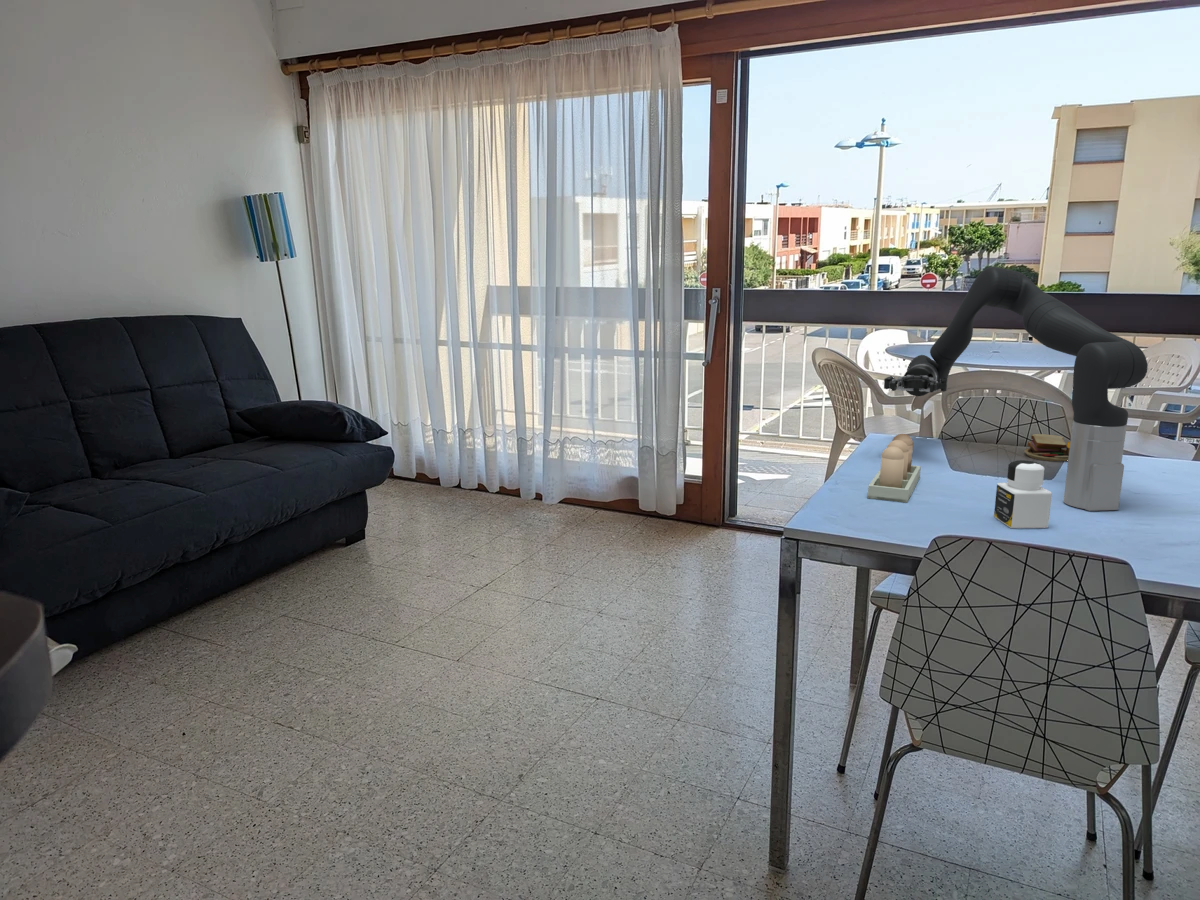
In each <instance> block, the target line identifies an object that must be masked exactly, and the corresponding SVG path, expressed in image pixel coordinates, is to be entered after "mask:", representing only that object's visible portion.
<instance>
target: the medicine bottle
mask: <svg viewBox="0 0 1200 900" xmlns="http://www.w3.org/2000/svg"><path fill="white" fill-rule="evenodd" d="M1044 475H1045V466H1044V465H1043V464H1042V463H1040V462H1037V461H1034V460H1033V461H1032V460H1025V459H1023V460H1022V459H1020V460H1019V459H1018V460H1014V461H1010V462H1009V463H1008V469H1007V475H1006V482H997V484H996V491H995V501H994V511H993V517H994V518H995V519H996V520H997V521H999V522H1000V523H1002V524H1003V525H1005V526H1007V527H1008V528H1010V529H1048V528H1049V523H1050V516H1051V507H1052V497H1053V493H1052V491H1050V490H1048V489H1046V488H1044V487H1042V486H1043V484H1044V477H1045V476H1044Z"/></svg>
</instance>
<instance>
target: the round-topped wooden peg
mask: <svg viewBox="0 0 1200 900" xmlns="http://www.w3.org/2000/svg"><path fill="white" fill-rule="evenodd" d="M894 440H901V441H903V442H905V443H906V444H907V446H908V449H909V453H908V466H907V473H911V465H912V463H913V450H914V441H913V439H912V436H910V435H909V434H906V433H899V434H896V435H895V436H894V437H893V438H892V440H891V442H892V441H894Z"/></svg>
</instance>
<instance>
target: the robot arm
mask: <svg viewBox="0 0 1200 900" xmlns="http://www.w3.org/2000/svg"><path fill="white" fill-rule="evenodd" d="M985 306H987V307H992V308H998V309H1003V310H1007V311H1011V312H1013V313H1015V314H1018V315H1019V316H1020V317H1022V325H1023V328H1024V330H1025V331H1026V332H1027V334H1029V336H1030V337H1032V338H1034V339H1035V340H1036V341H1037V342H1039V343H1040V344H1042V345H1043V346H1045V347H1047V348H1048V349H1050V350H1051V349H1052V350H1054V351H1058V352H1060V353H1064V354H1066V355H1070V356H1073V357H1075V360H1074V365H1073V377H1072V393H1071V394H1072V395H1071V406H1072V411H1073V416H1072V417H1073V418H1072V425H1071V426H1072V428H1071V435H1070V441H1069V442H1070V449H1069V457H1068V462H1067V466H1066V467H1067V468H1066V474H1065V481H1064V482H1065V483H1064V492H1063V503H1065V504H1066V505H1068V506H1071V507H1073V508H1077V509H1083V510H1085V511H1088V512H1089V511H1095V512H1096V511H1098V512H1099V511H1119V505H1120V500H1121V491H1122V484H1123V477H1124V470H1125V465H1124V463H1122V461H1123V454H1124V450H1125V449H1124V447H1125V442H1126V434H1127V425H1128V420H1129V419H1128V418H1129V413H1128V410H1127V409H1126V408H1123V407H1121V406H1118V405H1115V404H1113V403H1112V402H1111V401H1109V397H1108V396H1109V395H1108V393H1109V390H1113V389H1114V390H1115V389H1117V390H1118V389H1125V388H1131V387H1134V386H1136V385H1138V384H1139V383H1142V381H1143V380H1144V379H1145V377H1146V375H1147V373H1148V367H1149V365H1148V364H1149V363H1148V360H1147V357H1146V355H1145V353H1144V352H1143V350H1142V349H1141V348H1140V347H1139V346H1138V345H1137V344H1135V343H1134V342H1132V341H1129V340H1127V339H1125V338H1123V337H1121V336H1119V335H1117V334H1114V333H1112V332H1110V331H1108V330H1106V329H1104V328H1103V327H1101V326H1099V325H1098V324H1096V323H1095V322H1093V321H1091V320H1090V319H1088V318H1087V317H1085V316H1084V315H1082V314H1080V313H1079V312H1077V311H1076V310H1075V309H1074V308H1072V307H1070V306H1069V305H1067V304H1066V303H1064V302H1063V301H1061V300H1059V299H1057V298H1056V297H1054V296H1052V295H1051V294H1048V293H1047V292H1045V291H1043V290H1042V289H1041V288H1040V287H1038V285H1036V284H1035V282H1033V281H1032V280H1031V279H1030V278H1029V277H1028V276H1027V275H1025V274H1024V273H1022V272H1020V271H1018V270H1014V269H1009V268H1008V269H1007V268H1002V267H995V266H989V267H986V268H984V269H983V270H982V271H981V272H980V273H979V274H978V275H977V277H976V278H975V279H974V280H973V282H972V283H971V285H970V288H969V289H968V291H967V293H966V295H965V297H964V298H963V300H962V302H961V303H960V305H959V307H958V308H957V310H956V313H954V316H953V318H952V319H951V321H950V323H949V324H948V326H947V327H946V328H945V330H944V331H943V332H942V333H941V335H940V336H939V337H938V338H937V340H936V341H935V342H934V344H933V345H932V346H930V351H929V354H930V356H931V358H930V357H929V356H927V355H926V354H925V355H924V354H920V355H917V356H915V357H914V358H913V359H912V360H911V361H910V362H909V364H908V366H907V369H906V371H905V373H904V374H903V375H901V376H898V377H897V378H895V377H894V376H892V375H890V376H887V377H885V378H884V379H883V381H884V382H883V389H884V390H891V391H892V392H893V391H894V392H895V391H896V390H897V391H901V392H904V391H905V392H906V393H908V394H909V395H910V396H914V397H922V396H925V395H928V394H929V393H934V392H938V391H939V390H940V391H941V392H944V393H945V392H947V389H948V377H949V375H950V372H951V370H952V367H953V366H954V364H955V362H956V361H957V359H959V357H961V355H962V354H963V353H964V352H965V350H966V349H967V348H968V346H969V345H970V343H971V342H972V338H973V333H974V320H975V318H976V316H977V314H978V312H980V310H981V309H982V308H983V307H985Z"/></svg>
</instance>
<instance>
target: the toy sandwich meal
mask: <svg viewBox="0 0 1200 900" xmlns="http://www.w3.org/2000/svg"><path fill="white" fill-rule="evenodd" d="M1030 439H1031V441H1028V442H1027V446H1028V448H1025V449H1024V450H1023V451H1024V453H1025V454H1026V455H1027V457H1029V458H1031V459H1035V460H1040V461H1044V462H1054V461H1067V460H1068V457H1069V449H1070V441H1067V443H1066V442H1065V440H1064V437H1063V436H1062V435H1061V436H1060V435H1056V434H1045V433H1035V434H1031V438H1030Z"/></svg>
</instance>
